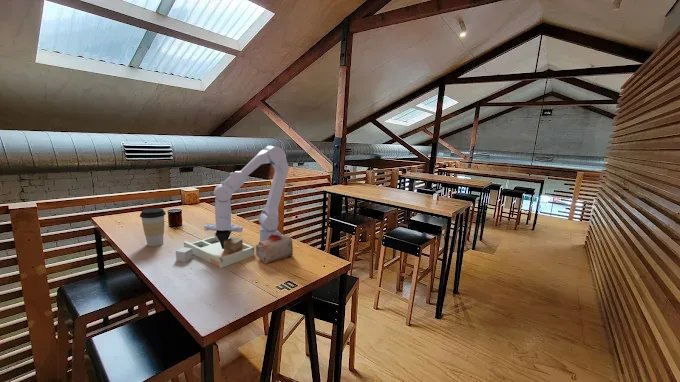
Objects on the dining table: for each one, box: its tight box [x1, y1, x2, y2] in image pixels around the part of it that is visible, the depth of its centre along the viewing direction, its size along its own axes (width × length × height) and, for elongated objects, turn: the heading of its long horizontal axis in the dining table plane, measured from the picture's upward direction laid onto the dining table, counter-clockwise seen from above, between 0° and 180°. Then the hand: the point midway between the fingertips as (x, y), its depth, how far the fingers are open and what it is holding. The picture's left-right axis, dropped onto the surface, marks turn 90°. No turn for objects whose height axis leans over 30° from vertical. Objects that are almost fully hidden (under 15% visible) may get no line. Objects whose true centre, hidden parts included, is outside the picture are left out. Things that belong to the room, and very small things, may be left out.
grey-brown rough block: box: [255, 234, 294, 265], centre depth 118 cm, size 14×8×10 cm, turn 134°
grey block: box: [175, 246, 194, 263], centre depth 114 cm, size 4×4×4 cm
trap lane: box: [183, 234, 255, 269], centre depth 122 cm, size 26×15×4 cm, turn 55°
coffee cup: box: [139, 207, 167, 247], centre depth 126 cm, size 9×9×15 cm
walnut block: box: [224, 236, 244, 254], centre depth 117 cm, size 5×5×5 cm
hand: (224, 247), depth 119 cm, fingers closed
